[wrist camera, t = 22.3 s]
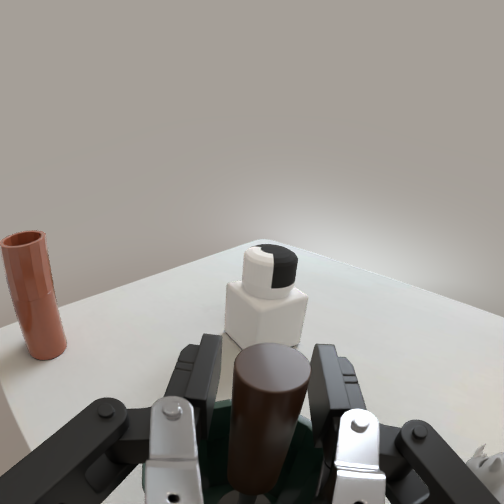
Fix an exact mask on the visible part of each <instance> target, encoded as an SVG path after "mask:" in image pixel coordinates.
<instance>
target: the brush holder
mask: <svg viewBox="0 0 504 504" xmlns="http://www.w3.org/2000/svg"><path fill="white" fill-rule="evenodd" d="M0 250H1V256H2V261H3V266H4V271H5V275H6V280H7V284H8V288H9V292H10V295H11V298H12V302H13V305H14V309H15V312H16V316H17V319H18V322H19V325H20V328H21V331H22V334H23V337H24V340H25V343H26V346H27V349H28V351H29V354H30V355H31V356H32V357H33V358H35V359H39V360H49V359H53V358H55V357H57V356H59V355H60V354H62V353H63V352H64V351H65V349H66V347H67V340H66V337H65V333H64V330H63V326H62V322H61V318H60V314H59V310H58V305H57V301H56V296H55V291H54V286H53V280H52V274H51V268H50V262H49V255H48V248H47V241H46V234H45V233H44V232H42V231H37V230H32V231H23V232H18V233H15V234H12V235H9V236H7V237H5V238H4V239H2V240H1V242H0Z"/></svg>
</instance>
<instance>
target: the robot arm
mask: <svg viewBox="0 0 504 504" xmlns="http://www.w3.org/2000/svg"><path fill="white" fill-rule="evenodd" d="M221 354H222V336H220V335H212V334H203V336H202V339H201V343H200V345H193V344H189V345H188V346H186V347H185V348H184V349H183V350H182V351H181V353H180V355H179V358H178V362H177V363H176V366H175V369H174V371H173V374H172V376H171V379H170V381H169V384H168V387H167V389H166V392H165V395H164V397H163V398H160V399H158V400H157V401H156V402H155V403H154V404H153V405H152V406H151V407H148V408H141V409H126V407H125V405H124V404H123V403H122V402H121V401H119V400H117V399H114V398H100V399H97V400H95V401H94V402H92V403H91V404H90V405H89V406H87V407H86V408H85V409H84V410H82V411H81V412H80V413H79V414H78V415H76V416H75V417H74V418H73V419H71V420H70V421H69V422H68V423H67V424H65V425H64V426H63V427H62V428H60V429H59V430H58V431H57V432H56V433H54V434H53V435H52V436H51V437H49V438H48V439H47V440H46V441H44V442H43V443H42V444H41V445H39V446H38V447H37V448H36V449H34V450H33V451H32V452H31V453H30V454H28V455H27V456H26V457H25V458H23V459H22V460H21V461H19V462H18V463H17V464H16V465H14V466H13V467H12V468H11V469H10V470H8V471H7V472H6V473H5V474H3V475H2V476H1V477H0V504H101V503H102V502H103V501H104V500H105V499H106V498H107V497H108V496H109V495H110V494H111V493H112V492H113V491H114V489H115V488H116V487H117V486H118V485H119V484H120V483H121V482H122V481H123V480H124V479H125V478H126V477H127V476H128V475H129V474H130V473H131V471H132V470H133V469H134V468H135V467H136V466H137V465H138V464H141V463H145V504H204V501H203V493H202V486H201V477H200V469H199V460H198V449H199V444H200V439H201V440H208V435H209V430H210V425H211V419H212V414H213V409H214V404H215V399H216V394H217V389H218V384H219V379H220V372H221ZM310 365H311V370H312V373H311V378H310V381H309V385H308V388H307V390H308V398H309V406H310V415H311V423H312V432H313V441H314V448H323V453H324V455H323V457H322V459H321V462H320V467H319V472H318V477H317V481H316V486H315V491H314V495H313V499H312V502H311V504H385V496H386V497H387V498H388V500H389V501H390V503H391V504H501V503H500V502H499V501H498V500H497V499H496V498H495V497H494V495H493V494H492V493H491V492H490V491H489V490H488V489H487V487H486V486H485V485H484V484H483V483H482V482H481V481H480V480H479V478H478V477H477V476H476V475H475V474H474V473H473V472H472V471H471V470H470V468H469V467H468V466H467V465H466V464H465V463H464V462H463V461H462V459H461V458H460V457H459V456H458V455H457V454H456V453H455V452H454V451H453V449H452V448H451V447H450V446H449V445H448V444H447V443H446V442H445V441H444V440H443V438H442V437H441V436H440V435H439V434H438V433H437V432H436V431H435V430H434V429H433V427H432V426H431V425H429V424H428V423H426V422H424V421H422V420H410V421H408V422H406V423H405V424H404V425H403V427H402V428H398V427H393V426H387V425H383V424H380V423H379V421H378V419H377V418H376V417H375V416H374V415H373V414H372V413H370V412H369V411H367V409H366V406H365V403H364V399H363V396H362V393H361V390H360V386H359V384H358V380H357V377H356V374H355V370H354V367H353V365H352V364H351V363H350V362H349V360H348V359H347V358H346V357H338V356H337V352H336V349H335V346H334V345H332V344H315V346H314V350H313V354H312V358H311V362H310ZM413 469H414V470H415V471H414V470H413ZM417 474H418V475H419V476H418V475H417ZM421 479H422V480H423V481H422V480H421ZM425 484H426V485H425Z"/></svg>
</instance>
